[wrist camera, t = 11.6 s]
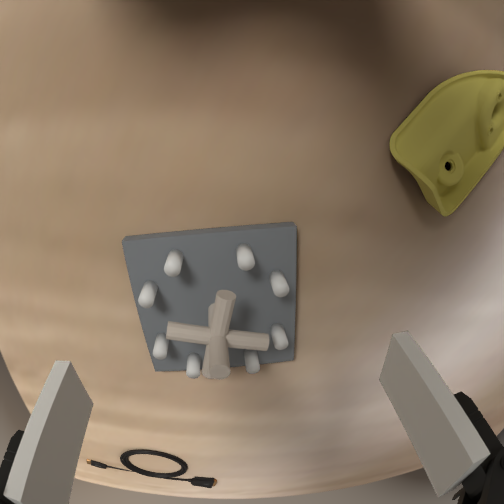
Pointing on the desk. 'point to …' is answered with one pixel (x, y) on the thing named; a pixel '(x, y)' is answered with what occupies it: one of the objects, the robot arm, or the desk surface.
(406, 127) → the plastic component
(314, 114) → the desk surface
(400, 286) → the desk surface
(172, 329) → the pipe connector
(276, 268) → the grey peg board
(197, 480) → the cable
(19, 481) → the robot arm
